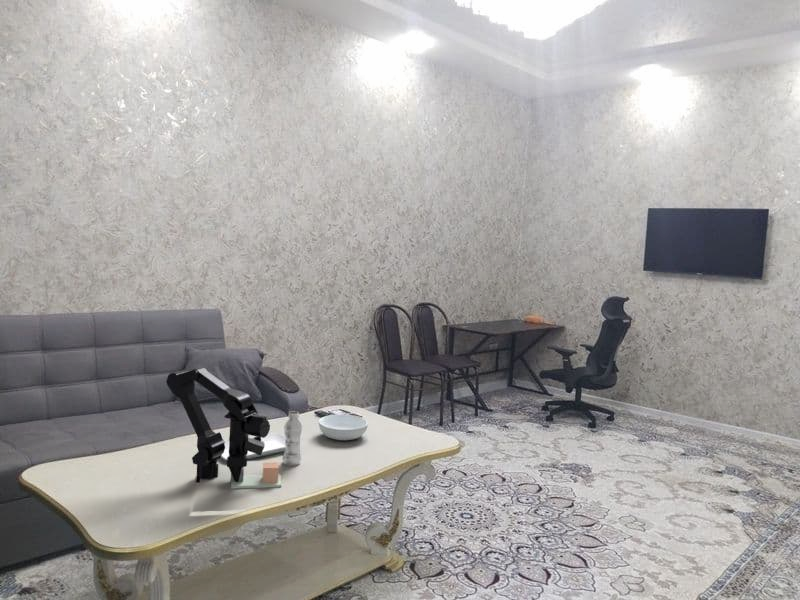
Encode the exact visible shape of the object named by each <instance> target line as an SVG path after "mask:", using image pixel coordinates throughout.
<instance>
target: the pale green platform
mask: <svg viewBox="0 0 800 600" xmlns="http://www.w3.org/2000/svg"><path fill="white" fill-rule="evenodd" d="M244 472H245V467H243V468H242V470H241V473H240V477H239V481H238V482H235V481H234V478H233V476H232V474H231V473H230V483H231V484H230V490H231V489H256V488H257V489H261V488H263V489H264V488H281V487H282V476H281V474H280V473H278V482H273V483H263V474H246V475H245V474H244Z"/></svg>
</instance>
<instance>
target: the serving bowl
mask: <svg viewBox="0 0 800 600" xmlns="http://www.w3.org/2000/svg"><path fill="white" fill-rule="evenodd" d="M368 425H369V423H368V420H367V419H366V418H363V417H361V416H357V415H354V414H353V415H352V414H351V415H350V414H330V415H326V416H323V417H321V418H320V419H319V420H318V427H319V430H320V432H321V433H322V434H323V435H324V436H326V437H328V438H330V439H332V440H337V441H349V440H350V441H351V440H352V441H353V440H355V439H356V440H357V439H359V438H360V437H362V436H363V435H365V432H366V431H367V429H368Z"/></svg>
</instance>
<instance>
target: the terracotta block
mask: <svg viewBox="0 0 800 600" xmlns="http://www.w3.org/2000/svg"><path fill="white" fill-rule="evenodd" d="M279 469H280V468H279V462H277V461H276V462H263V463H262V475H263V483H273V482H278V474H279Z"/></svg>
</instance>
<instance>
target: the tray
mask: <svg viewBox="0 0 800 600" xmlns="http://www.w3.org/2000/svg"><path fill="white" fill-rule="evenodd" d="M254 437H256V436H250V437H249V436H248V438H251V439H252V438H254ZM262 441H263V442H264V443H265V447H264V449H263V451H262V454H261V455H257V454H256V453H253V452H250V451H248V453H247V455H246V456H247V460H250V459H254V458H255V459H256V458H259V457H265V456H270V455H273V454H279V453H282V452H284V450H285V434H282V433H280V432H271V433H270V432H269V433H268V435H267V436H266V437H265V438H262V437H261V442H262ZM224 444H225V450H224V453H223V454H222V456H221V458H220V459H223V460H225V461H226V462H227V457H228V456H229V440H228V441H225V443H224Z"/></svg>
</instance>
